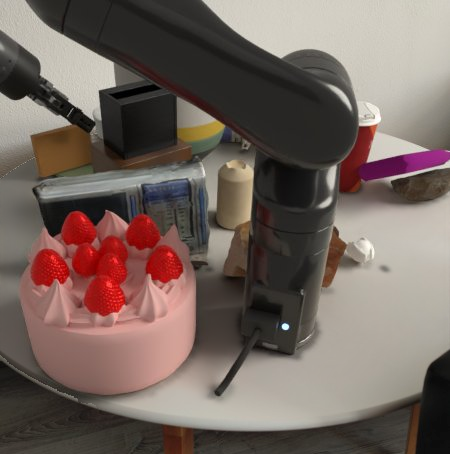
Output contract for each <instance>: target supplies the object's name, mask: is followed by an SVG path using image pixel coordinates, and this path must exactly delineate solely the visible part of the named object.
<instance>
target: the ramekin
mask: <svg viewBox="0 0 450 454" xmlns="http://www.w3.org/2000/svg"><path fill="white" fill-rule="evenodd" d="M92 118H93V121H95V123H96V125H95V127H94V128H95V133H96V135H97V136H98V138H100V140H103V131H102V121H101V111H100V105H99V106H98V107H95V108H94V109H93V111H92Z"/></svg>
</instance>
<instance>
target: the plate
mask: <svg viewBox="0 0 450 454" xmlns="http://www.w3.org/2000/svg"><path fill="white" fill-rule="evenodd" d="M84 174H93V166H92V163H90V164H86V165H83V166H80V167H76V168H73V169H69V170H66V171H63V172H59V173H56V174H54V175H55V177H56V178H61V177H70V176H80V175H84Z"/></svg>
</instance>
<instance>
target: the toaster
mask: <svg viewBox="0 0 450 454" xmlns="http://www.w3.org/2000/svg"><path fill="white" fill-rule="evenodd" d="M98 101H99V106H100V111H101V121H102V131H103V139H102V140H103V141H104V145H106V146H107V147H108V148H109V149H111V150H112V151H113V152H115V153H116V154H117V155H119V156H120V157H121V158H123V159H124V160H127V159H130V158H133V157H137V156H140V155H144V154H147V153H150V152H154V151H157V150H160V149H164V148H167V147H171V146H174V145H177V96H175V95H173V94H171V93H169V92H167V91H165V90H163V89H161V88H160V87H158V86H156V85H154V84H152V83H150V82H149V81H147V80H143V81H138V82H134V83H129V84H125V85H120V86H116V85H115V86H111V87H108V88H103V89H98Z"/></svg>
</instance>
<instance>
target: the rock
mask: <svg viewBox="0 0 450 454" xmlns="http://www.w3.org/2000/svg"><path fill="white" fill-rule="evenodd" d="M390 186H391V187H392V189H393V190H394V191H395V193H396V194H398V195H400V196H402V197H403V198H405V199H407V200H410V201H416V202H417V201H426V200H435V199H438V198H441V197H443V196H444V195H446V194H448V193H449V192H450V167H445V168H435V169H432V170H427V171H423V172H419V173H416V174H413V175H412V174H411V175H409V176H404V177H398V178H395V179H392V180H390Z"/></svg>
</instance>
